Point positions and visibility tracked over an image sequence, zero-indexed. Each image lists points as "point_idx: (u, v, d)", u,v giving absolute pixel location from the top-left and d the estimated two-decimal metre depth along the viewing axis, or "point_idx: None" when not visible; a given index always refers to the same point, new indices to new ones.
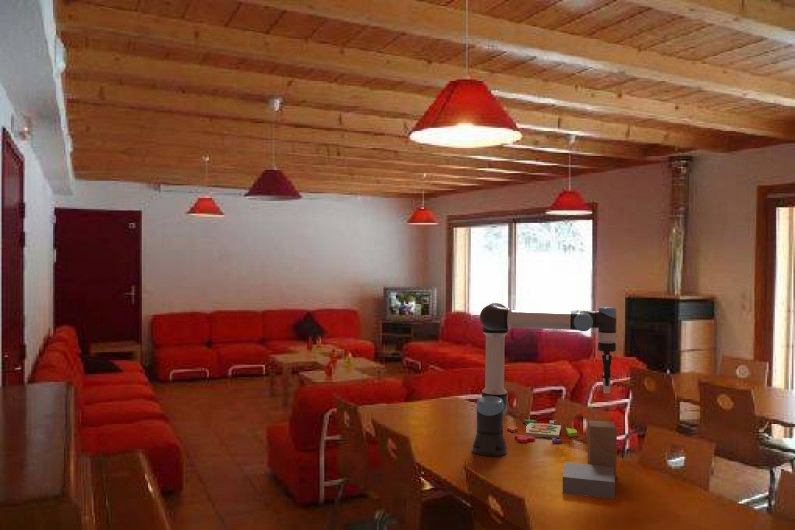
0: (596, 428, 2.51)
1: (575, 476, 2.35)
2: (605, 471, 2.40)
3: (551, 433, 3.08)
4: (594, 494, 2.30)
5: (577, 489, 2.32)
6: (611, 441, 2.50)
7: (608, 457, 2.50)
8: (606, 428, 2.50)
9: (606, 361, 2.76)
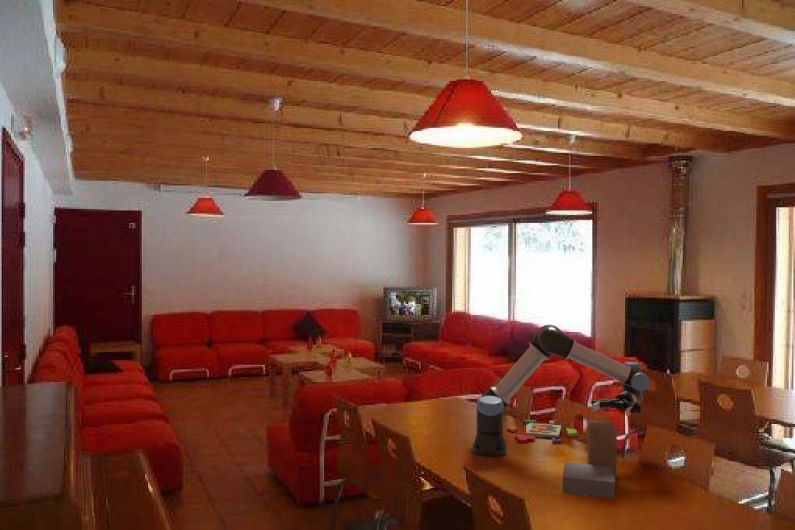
0: (596, 428, 2.51)
1: (575, 476, 2.35)
2: (605, 471, 2.40)
3: (551, 433, 3.08)
4: (594, 494, 2.30)
5: (577, 489, 2.32)
6: (611, 441, 2.50)
7: (608, 457, 2.50)
8: (606, 428, 2.50)
9: None
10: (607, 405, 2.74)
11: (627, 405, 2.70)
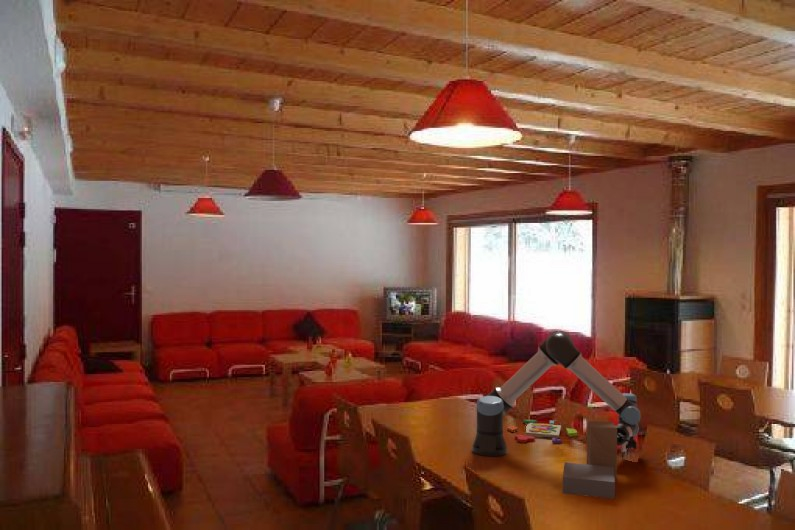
0: (596, 428, 2.50)
1: (575, 476, 2.35)
2: (605, 471, 2.40)
3: (551, 433, 3.08)
4: (594, 494, 2.30)
5: (577, 489, 2.32)
6: (611, 441, 2.50)
7: (608, 457, 2.50)
8: (606, 428, 2.50)
9: None
10: None
11: (622, 440, 2.64)
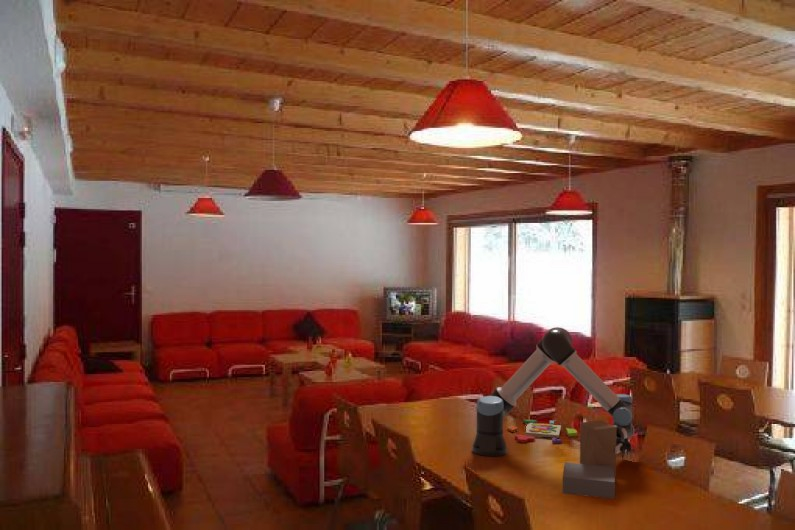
0: (599, 430, 2.48)
1: (575, 476, 2.35)
2: (605, 471, 2.40)
3: (551, 433, 3.08)
4: (594, 494, 2.30)
5: (577, 489, 2.32)
6: (612, 441, 2.49)
7: (609, 457, 2.49)
8: (608, 429, 2.49)
9: None
10: None
11: (617, 441, 2.60)
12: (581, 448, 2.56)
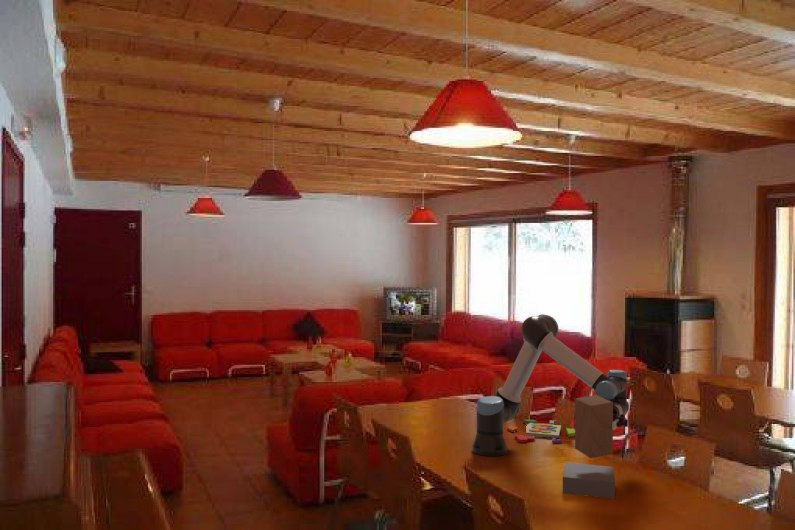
0: (596, 407, 2.35)
1: (575, 476, 2.35)
2: (605, 471, 2.40)
3: (551, 433, 3.08)
4: (594, 494, 2.30)
5: (577, 489, 2.32)
6: (608, 417, 2.37)
7: (606, 434, 2.37)
8: (604, 404, 2.36)
9: None
10: None
11: (613, 417, 2.48)
12: (576, 425, 2.43)
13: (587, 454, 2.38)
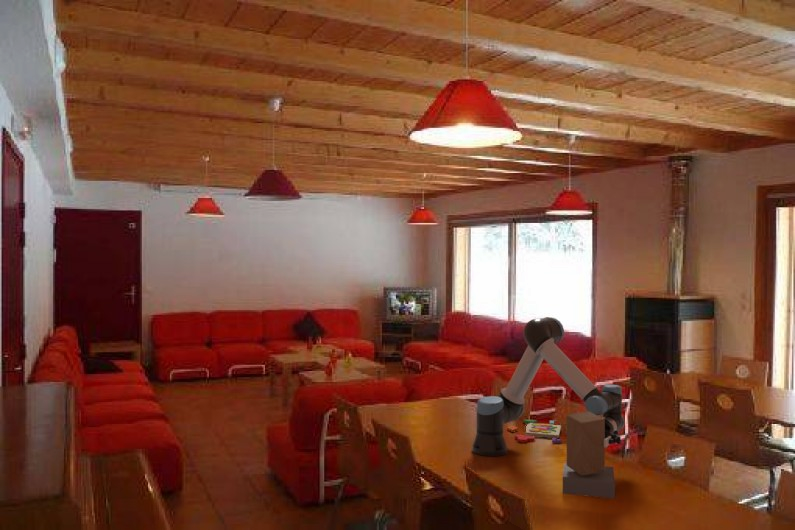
0: (587, 424, 2.31)
1: (575, 476, 2.35)
2: (605, 471, 2.40)
3: (551, 433, 3.08)
4: (594, 494, 2.30)
5: (577, 489, 2.32)
6: (600, 434, 2.33)
7: (598, 451, 2.33)
8: (595, 421, 2.32)
9: None
10: None
11: (606, 434, 2.43)
12: (567, 442, 2.39)
13: (578, 472, 2.34)
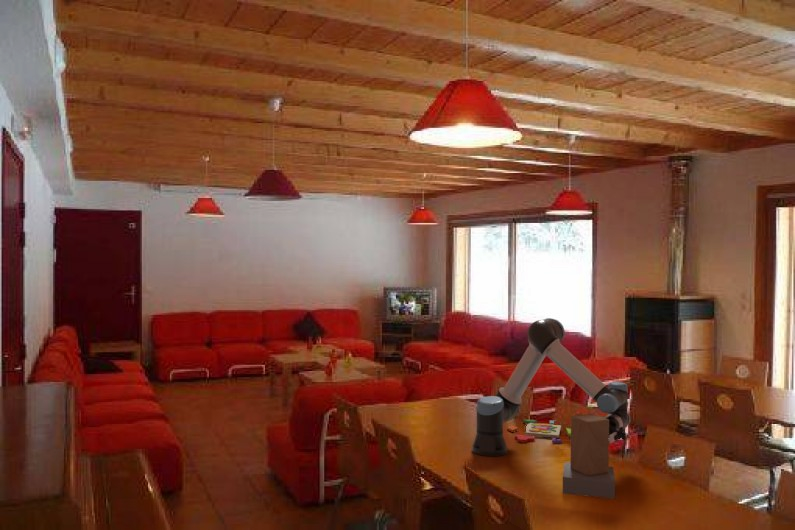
0: (593, 423, 2.35)
1: (575, 476, 2.35)
2: None
3: (551, 433, 3.08)
4: (594, 494, 2.30)
5: (577, 489, 2.32)
6: (605, 434, 2.37)
7: (602, 452, 2.37)
8: (601, 421, 2.37)
9: None
10: None
11: (611, 430, 2.48)
12: (572, 443, 2.42)
13: (584, 472, 2.36)
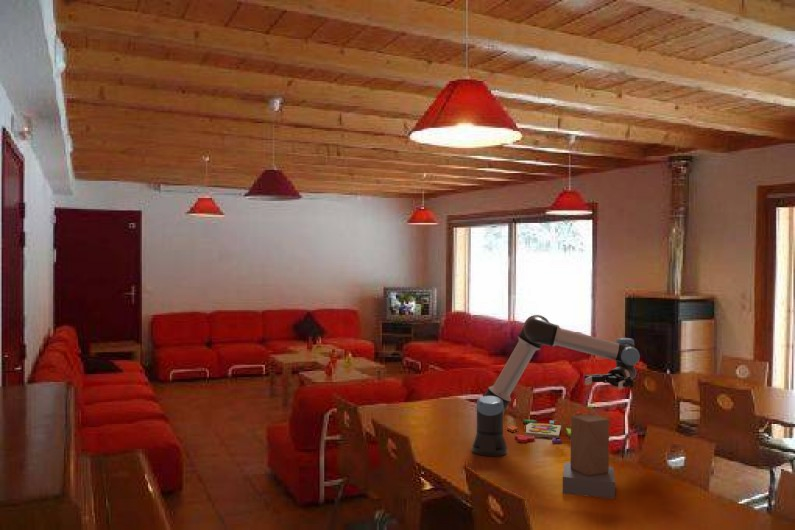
0: (593, 423, 2.35)
1: (575, 476, 2.35)
2: None
3: (551, 433, 3.08)
4: (594, 494, 2.30)
5: (577, 489, 2.32)
6: (605, 434, 2.37)
7: (602, 452, 2.37)
8: (601, 421, 2.37)
9: None
10: (600, 380, 2.71)
11: (620, 379, 2.67)
12: (572, 443, 2.42)
13: (584, 472, 2.36)
